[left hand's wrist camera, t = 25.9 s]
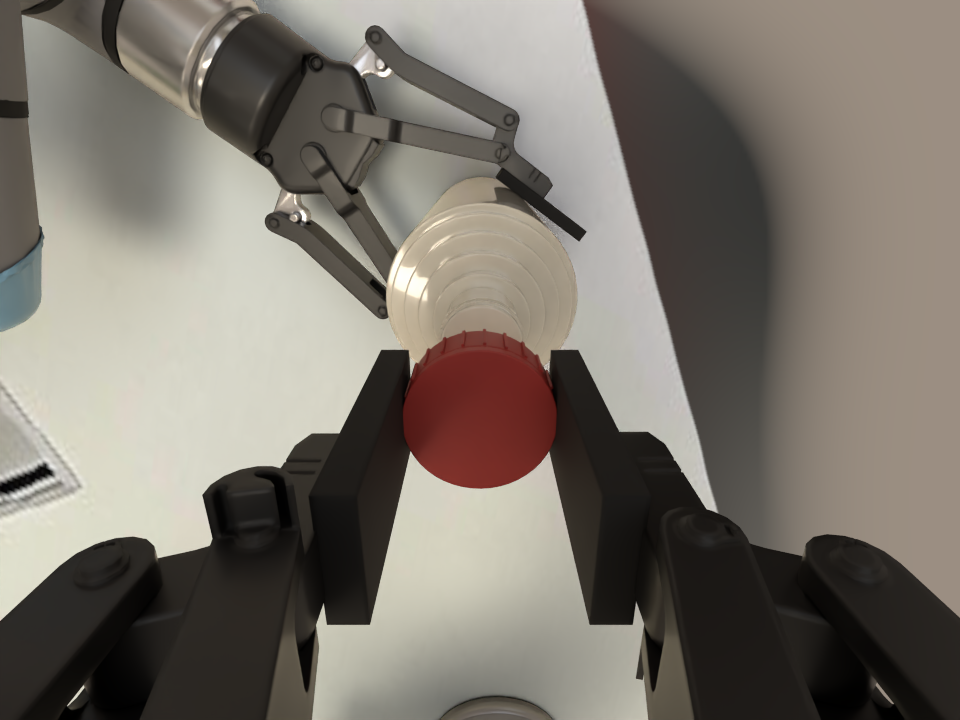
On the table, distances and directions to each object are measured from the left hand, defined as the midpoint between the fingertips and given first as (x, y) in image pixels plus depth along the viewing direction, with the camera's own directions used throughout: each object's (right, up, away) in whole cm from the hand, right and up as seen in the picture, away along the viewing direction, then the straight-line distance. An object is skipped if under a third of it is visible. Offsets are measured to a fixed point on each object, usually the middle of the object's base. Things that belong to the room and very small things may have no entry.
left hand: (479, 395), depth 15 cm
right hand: (+4, +6, +21) cm, 22 cm away
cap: (0, 0, -1) cm, 1 cm away
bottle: (0, +11, +26) cm, 28 cm away
